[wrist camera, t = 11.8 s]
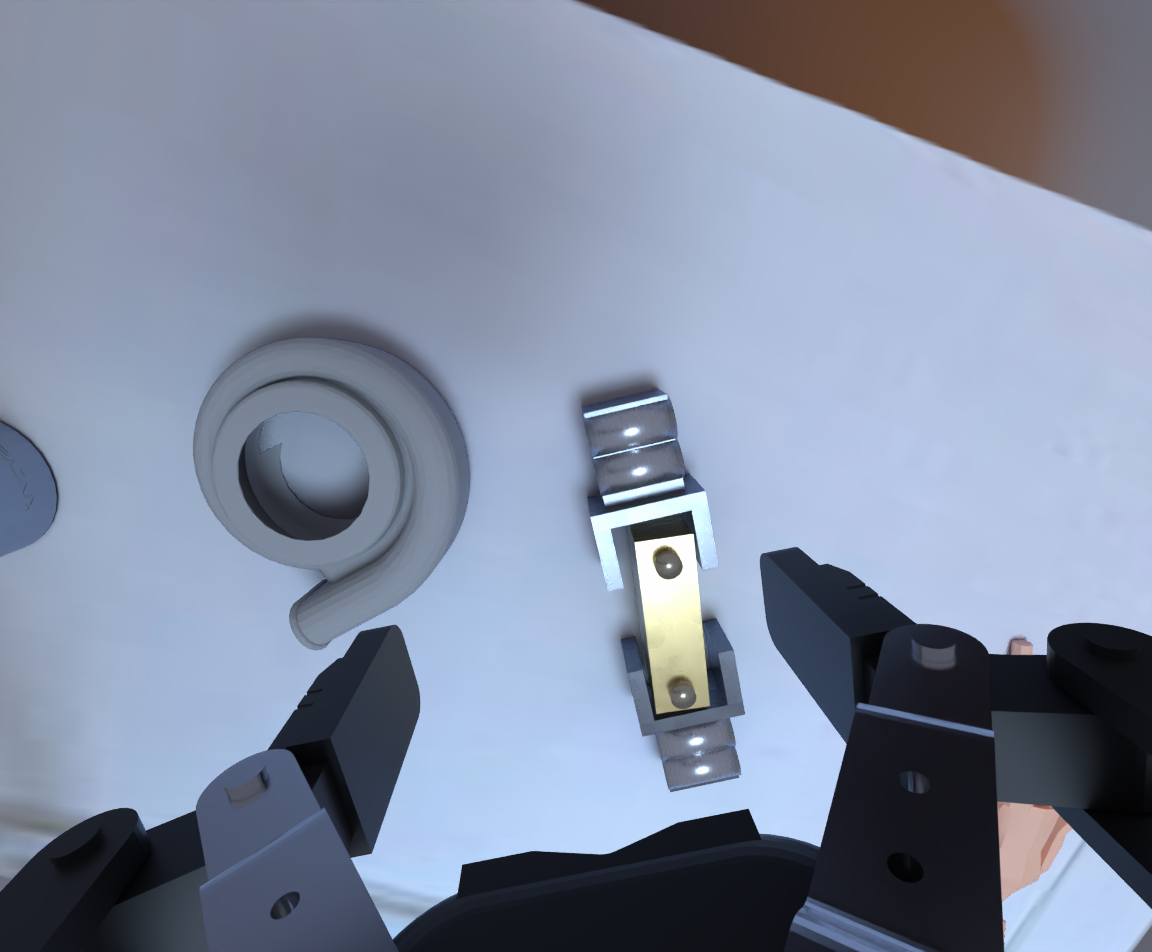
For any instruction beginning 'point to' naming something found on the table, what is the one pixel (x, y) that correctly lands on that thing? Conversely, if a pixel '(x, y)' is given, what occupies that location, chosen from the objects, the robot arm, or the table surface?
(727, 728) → the chain ends
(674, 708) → the brass block with pins
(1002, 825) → the male figurine
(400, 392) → the turbocharger housing
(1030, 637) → the table surface
